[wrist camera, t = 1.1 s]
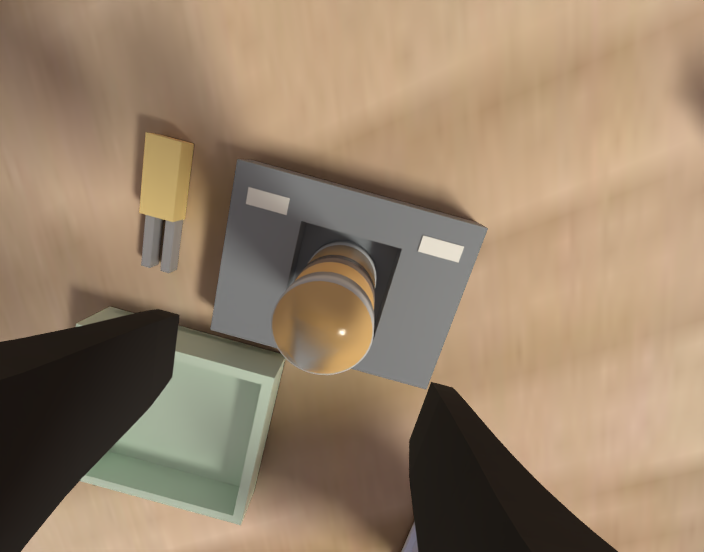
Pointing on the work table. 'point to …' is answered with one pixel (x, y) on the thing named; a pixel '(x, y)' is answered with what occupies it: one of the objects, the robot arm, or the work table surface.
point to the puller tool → (164, 197)
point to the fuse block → (356, 226)
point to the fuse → (328, 310)
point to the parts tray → (198, 428)
